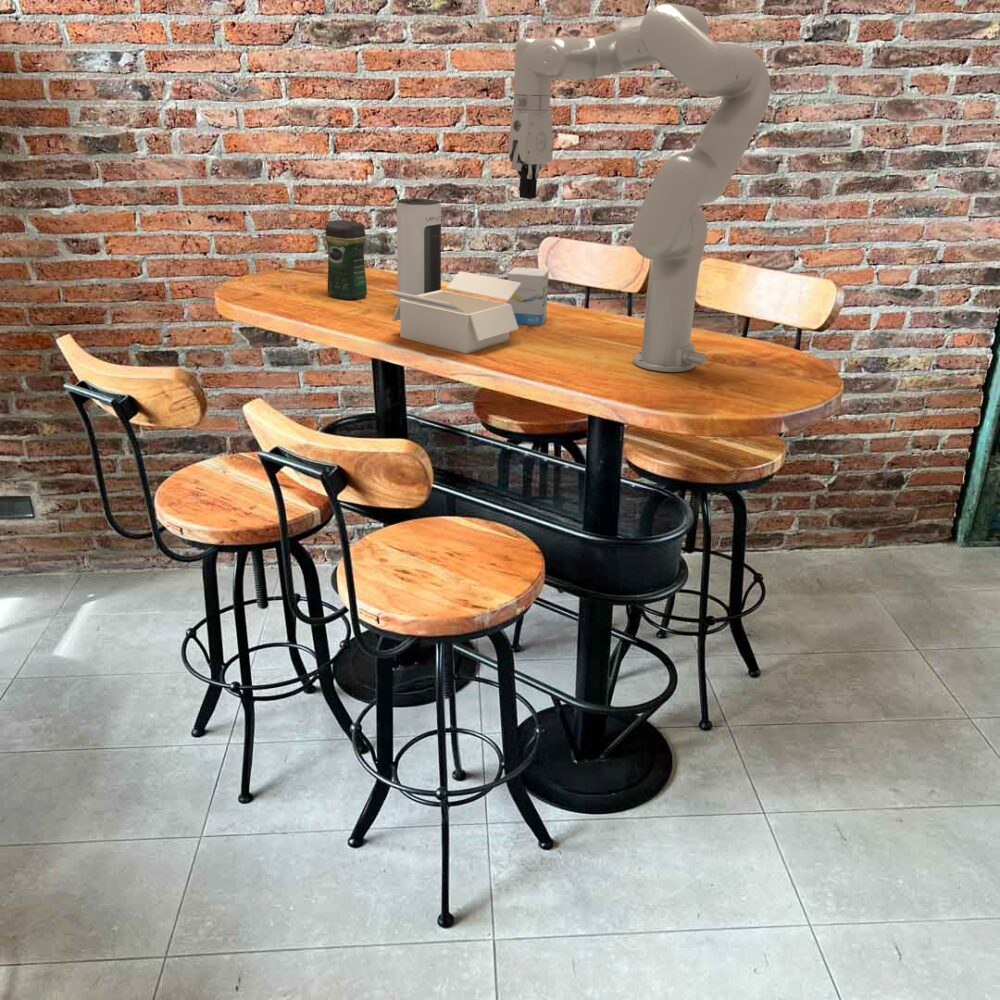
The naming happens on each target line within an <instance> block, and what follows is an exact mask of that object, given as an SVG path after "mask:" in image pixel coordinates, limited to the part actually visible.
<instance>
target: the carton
mask: <svg viewBox="0 0 1000 1000" xmlns="http://www.w3.org/2000/svg"><path fill="white" fill-rule="evenodd" d="M417 296H421V297H426V298H431V299H436V300H440V301H445V302H450V303H452V304H453V305H455V306H457V307H459V308H461V309H463V310H464V311H465V313H463V312H459V311H454V310H449V309H445V308H440V307H436V306H431V305H427V304H422V303H417V302H413V301H408V300H404V299H400V300H399V303H398V302H397V306H396V309H395V312H394V314H393V317H392V322H396V321H400V322H399V324H400V325H399V326H400V327H399V328H400V330H399V331H400V335H399V336H400V338H401V339H405V340H409V341H413V342H417V343H422V344H424V345H425V344H426V345H428V346H432V347H433V346H435V347H438V348H442V349H447V350H450V351H455V352H458V353H461V354H466V355H467V354H470V353H474V352H476V351H481V350H483V349H487V348H490V347H493V346H496V345H499V344H503V343H506V342H509V341H510V332H513V331H516V330H519V324H517V322H516V319H515V316H514V312H513V309H512V306H511V304H507V303H506V302H502V301H498V300H497V301H496V300H492V299H487V298H482V297H479V296H478V297H477V296H473V295H468V294H467V295H466V294H462V293H459V292H453V291H447V290H443V289H441V290H438V291H434V292H429V293H425V294H420V295H417Z"/></svg>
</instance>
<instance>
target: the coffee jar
mask: <svg viewBox="0 0 1000 1000" xmlns="http://www.w3.org/2000/svg"><path fill="white" fill-rule="evenodd" d="M366 238H367V237H366V229H365V226H364V224H363V223H362V222H357V221H352V220H345V219H337V220H336V219H335V220H329V221H328V222H327V223H326V226H325V240H326V245H327V254H328V255H327V256H328V257H327V259H328V262H327V263H328V264H327V295H329V296H330V297H334V298H338V299H341V300H352V299H356V300H359V299H363V298H365V297H366V296H367V294H368V290H367V289H368V288H367V287H368V285H367V278H366V277H367V276H366V267H365V253H364V251H365V250H364V249H365V243H366Z"/></svg>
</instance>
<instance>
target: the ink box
mask: <svg viewBox="0 0 1000 1000" xmlns="http://www.w3.org/2000/svg"><path fill="white" fill-rule="evenodd" d="M549 274H550V273H549V269H544V268H536V267H525V266H524V267H517V266H515V267H513V268H512V269H511V270H510V271H509V272H508V273H507V280H509V281H515V282H520V283H522V284H521V286H520V287H519V288H518V290H517V291H516V293H515V294H514V295H513V296H512V297H511V299H510V300H509V301H506V302H505V303H507V304H511V306H512V309H513V312H514V316H515V319H516V322H517V325H528V326H539V327H540V326H542V324H543V323H544V322H545V320H546V318H547V307H548V306H547V305H548V290H549V289H548V286H549Z"/></svg>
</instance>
